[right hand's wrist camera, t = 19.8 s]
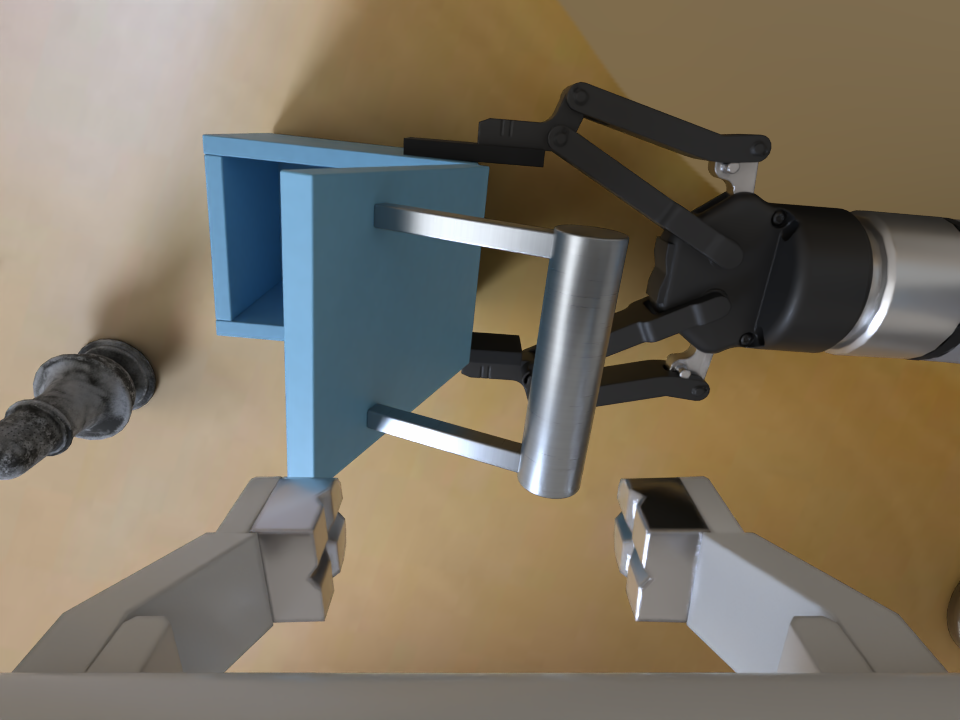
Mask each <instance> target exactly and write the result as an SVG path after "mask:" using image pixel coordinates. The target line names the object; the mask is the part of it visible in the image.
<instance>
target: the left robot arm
mask: <svg viewBox="0 0 960 720" xmlns="http://www.w3.org/2000/svg"><path fill="white" fill-rule="evenodd" d="M583 118H586V119H588V120H591V121H594V122H596V123H599V124H602V125H604V126H607V127H610V128H612V129H615V130H618V131H620V132H623V133H626V134H628V135H631V136H634V137H636V138H639V139H642V140H644V141H647V142H650V143H652V144H655V145H658V146H660V147H663V148H666V149H668V150H671V151H674V152H676V153H679V154H682V155H684V156H688V157H691V158H695V159H700V160H707V161H709V163H708V170H709V173H710V174H711V175H712V176H713V177H716V178H720V179H722V180H723V181H724V182H725V184H726V187H727V191H726V192H724V193H722V194H721V195H719V196H717V197H715V198H714V199H712V200H710V201H708V202H707V203H705V204H703V205H702V206H700V207H698V208H696V209H695V210H693V211H691V212H689V211H688V210H687V209H685V208H684V207H682V206H681V205H679V204H677V203H676V202H674V201H673V200H671V199H670V198H668V197H667V196H665V195H664V194H663V193H661V192H660V191H658V190H657V189H656V188H654V187H653V186H651V185H650V184H648V183H647V182H646V181H644V180H643V179H641V178H640V177H639V176H637V175H636V174H634V173H633V172H632V171H630V170H629V169H627V168H626V167H624V166H623V165H622V164H620V163H619V162H617V161H616V160H615V159H613V158H612V157H610V156H609V155H608V154H606V153H605V152H603V151H602V150H601V149H599V148H598V147H596V146H595V145H593V144H592V143H591V142H589V141H588V140H586V139H585V138H584V137H582V136H581V135H579V134H578V133H577V130H578V128H579V126H580V124H581V122H582V120H583ZM545 151H552V152H553V153H555V154H556V155H558V156H559V157H561V158H562V159H564V160H565V161H566V162H568V163H569V164H571V165H572V166H574V167H575V168H576V169H578V170H579V171H581V172H582V173H584V174H585V175H587V176H588V177H589V178H591V179H592V180H594V181H595V182H597V183H598V184H600V185H601V186H602V187H604V188H605V189H607V190H608V191H610V192H611V193H613V194H614V195H615V196H617V197H618V198H620V199H621V200H623V201H624V202H626V203H627V204H628V205H630V206H631V207H633V208H634V209H636V210H637V211H639V212H640V213H641V214H643V215H644V216H645V217H647V218H648V219H650V220H651V221H652V222H654V223H655V224H657V225H658V226H660V227H661V228H662V229H664V231H663V233H662V234H661V236H657V238H656V243H655V249H654V256H655V267H654V269H653V271H652V273H651V275H650V278H649V280H648V285H647V290H646V293H647V294H648V295H649V296H647V297H645V298H643V299H640V300H638V301H635V302H633V303H631V304H630V305H629V306H628V307H627V308H626V309H624V310H621V311H619V312H616V313H614V318H613V323H612V328H611V333H610V338H609V343H608V348H607V353H606V357H607V356H610V355H613V354H615V353H618V352H620V351H623V350H625V349H628V348H630V347H633V346H636V345H638V344H641V343H644V342H657V341H660V340H662V339H665V338H667V337H670V336H672V335H675V334H677V333H679V334H680V335H682V336H683V337H684V338H685V339H686V340H687V341H688V342H689V343H690V344H691V345H690V347H689V348H688V349H687V350H686V351H685V352H682V353H675V354H670V355H668V357H667V360H645V361H639V362H632V363H626V364H620V365H613V366H607V367H604V368H603V373H602V378H601V383H600V388H599V393H598V398H597V403H596V407H597V406H604V405H610V404H617V403H623V402H630V401H636V400H643V399H649V398H656V397H662V396H670V397H676V398H682V399H688V400H694V401H700V400H703V399H704V398H706V397H707V396H708V394H709V391H710V388H709V385H708V384H707V383H706V382H705V380H704V379H705V376H706V373H707V370H708V367H709V365H710V362H711V359H712V356H713V354H714V353H719V352H721V351H724V350H726V349H729V348H733V347H746V348H754V349H767V350H781V351H795V352H809V353H819V352H823V351H824V352H826V353H830V354H834V355H847V356H865V357H883V358H902V359H908V360H927V361H938V362H949V363H960V220H955V219H950V218H942V217H933V216H921V215H909V214H898V213H886V212H874V211H857V210H856V211H852V212H849V211H847V210H844V209H839V208H827V207H814V206H802V205H790V204H776V203H768V202H766V201H764V200H763V199H761V198H760V197H759V196H757V195H756V194H754V188H755V181H756V175H757V168H758V162H760V161H762V160H764V159H765V158H766V157H767V156H768V155H769V153H770V151H771V142H770V140H769V138H767V137H766V136H764V135H752V134H718V133H715V132H713V131H710V130H708V129H705V128H702V127H700V126H697V125H694V124H692V123H689V122H687V121H684V120H682V119H679V118H676V117H674V116H671V115H668V114H666V113H663V112H661V111H658V110H655V109H653V108H650V107H648V106H645V105H642V104H640V103H637V102H635V101H632V100H629V99H627V98H624V97H621V96H619V95H616V94H614V93H611V92H608V91H606V90H603V89H601V88H598V87H595V86H593V85H590V84H588V83H584V82H579V83H576V84H573V85H571V86H568V87H567V88H566V89H564V90H563V92H562V94H561V98H560V100H559V102H558V105H557V107H556V109H555V111H554V113H553V115H552V116H551V117H550V118H549V119H548V120H546V121H544V122H528V121H517V120H505V119H493V118H489V119H486V120H484V121H481V122H479V129H478V143H474V142H462V141H451V140H439V139H427V138H415V137H408V138H404V150H403V155H410V156H419V157H429V158H438V159H450V160H462V161H474V162H486V163H498V164H510V165H523V166H535V167H543V164H544V156H545ZM536 346H537V345H535V346H532V347H530V348H527V349H525V350H523V351H522V348H521V343H520V338H519V335H506V334H492V333H478V332H472V340H471V349H470V359H469V363H468V364H467V365H466V366H465V367H464V368H463V369H462V372H461V373H462V374H464V375H466V376H469V377H474V378H489V379H503V380H514V381H518V382H519V383H521V384H522V385H523V386H524V389H525V392H526V395H527V399H528V400H529V393H530V386H531V380H532V373H533V366H534V360H535V353H536ZM947 624H948V630H949V632H950V635H951V637H952V639H953V641H954V642H955V643H956V645H957V646H958V647H959V648H960V582H959V583H958V585H957V587H956V588H955V590H954V592H953V594H952V597H951V599H950V602H949V606H948V611H947Z"/></svg>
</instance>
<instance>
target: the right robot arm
mask: <svg viewBox="0 0 960 720" xmlns="http://www.w3.org/2000/svg"><path fill="white" fill-rule="evenodd" d="M342 499H343V496H342V489H341V482H340V481H339V479H338V478H319V477H255V478H252V479H251V480H250V481H249V482H248V484H247V486H246V487H245V489H244V490H243V492H242V493H241V495H240V496H239V498H238V499H237V501H236V502H235V504H234V505H233V507H232V508H231V510H230V511H229V513H228V514H227V516H226V517H225V519H224V520H223V522H222V523H221V525H220V526H219V528H218V529H217V531H216V532H215V533H205V534H203V535H202V536H200V537H198V538H196V539H194V540H193V541H191V542H189V543H187V544H186V545H184V546H182V547H180V548H178V549H177V550H175V551H173V552H171V553H170V554H168V555H166V556H164V557H162V558H161V559H159V560H157V561H155V562H153V563H152V564H150V565H148V566H146V567H145V568H143V569H141V570H139V571H137V572H136V573H134V574H132V575H130V576H129V577H127V578H125V579H123V580H121V581H120V582H118V583H116V584H114V585H112V586H111V587H109V588H107V589H105V590H104V591H102V592H100V593H98V594H96V595H95V596H93V597H91V598H89V599H88V600H86V601H84V602H82V603H80V604H79V605H77V606H75V607H73V608H71V609H70V610H68V611H66V612H64V613H63V614H62V615H61V616H60V617H59V618H58V619H57V621H56V622H55V623H54V624H53V625H52V626H51V628H50V629H49V630H48V631H47V632H46V633H45V634H44V636H43V637H42V638H41V639H40V640H39V641H38V643H37V644H36V645H35V646H34V647H33V648H32V649H31V651H30V652H29V653H28V654H27V655H26V656H25V658H24V659H23V660H22V661H21V662H20V663H19V664H18V666H17V667H16V668H15V669H14V670H13V671H12V673H0V720H960V673H948V671H947V670H946V669H945V668H944V667H943V666H942V664H941V663H940V662H939V661H938V660H937V659H936V657H935V656H934V655H933V654H932V653H931V652H930V650H929V649H928V648H927V647H926V646H925V645H924V643H923V642H922V641H921V640H920V639H919V638H918V636H917V635H916V634H915V633H914V632H913V631H912V630H911V628H910V627H909V626H908V625H907V624H906V623H905V621H904V620H903V619H902V618H901V617H900V616H899V614H897V613H895V612H893V611H892V610H890V609H888V608H886V607H885V606H883V605H881V604H879V603H877V602H876V601H874V600H872V599H870V598H869V597H867V596H865V595H863V594H861V593H860V592H858V591H856V590H854V589H853V588H851V587H849V586H847V585H845V584H844V583H842V582H840V581H838V580H837V579H835V578H833V577H831V576H829V575H828V574H826V573H824V572H822V571H821V570H819V569H817V568H815V567H813V566H812V565H810V564H808V563H806V562H805V561H803V560H801V559H799V558H797V557H796V556H794V555H792V554H790V553H789V552H787V551H785V550H783V549H781V548H780V547H778V546H776V545H774V544H773V543H771V542H769V541H767V540H765V539H764V538H762V537H760V536H758V535H757V534H755V533H745V532H744V531H743V529H742V528H741V526H740V525H739V523H738V522H737V520H736V519H735V517H734V516H733V514H732V513H731V511H730V510H729V508H728V507H727V505H726V504H725V503H724V501H723V500H722V498H721V497H720V495H719V494H718V492H717V491H716V489H715V488H714V486H713V485H712V483H711V482H710V480H709V479H708V478H706V477H704V476H697V477H676V478H633V479H621V480H620V483H619V487H618V496H617V499H618V502H619V505H620V507H621V510H622V512H621V513H620V514H619V515H618V516H617V517H616V518H615V525H614V550H615V555H616V561H617V564H618V568H619V571H620V572H621V573H622V574H623V575H624V576H626V577H627V584H626V593H627V596H628V599H629V602H630V605H631V608H632V612H633V615H634V618H635V621H648V622H684V623H687V626H688V627H689V628H690V629H691V630H692V631H693V632H694V633H696V634H697V635H698V636H699V637H700V638H701V639H702V640H703V641H704V642H705V643H706V644H707V645H708V646H709V647H710V648H711V649H712V650H713V651H714V652H715V653H716V654H717V655H718V656H719V657H721V658H722V659H723V660H724V661H725V662H726V663H727V664H728V665H729V666H730V667H731V668H732V669H733V670H734V671H735V672H736V673H224V672H225V671H226V670H227V669H228V668H229V667H230V666H231V665H232V664H233V663H235V662H236V661H237V660H238V659H239V658H240V657H241V656H242V655H243V654H244V653H245V652H246V651H247V650H248V649H249V648H250V647H251V646H252V645H253V644H254V643H255V642H256V641H257V640H259V639H260V638H261V637H262V636H263V635H264V634H265V633H266V632H267V631H268V630H269V629H270V628H271V627H272V626H273V623H276V622H310V621H325V618H326V615H327V612H328V609H329V606H330V602H331V599H332V596H333V593H334V585H333V577H334V576H336V575H337V574H338V573H339V572H340V571H341V568H342V564H343V561H344V555H345V547H346V524H345V518H344V517H343V516H342V515H341V514H340V513H339V512H338V510H339V507H340V505H341V502H342Z"/></svg>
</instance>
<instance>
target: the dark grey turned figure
mask: <svg viewBox="0 0 960 720" xmlns="http://www.w3.org/2000/svg"><path fill="white" fill-rule="evenodd" d="M33 389H34V397H35V398H34V399H31V400H22V401H18V402H16V403H14V404H13V405H12V406H10V407H9V409H8V410H7V411H6V414H5V418H4V419H2V420H1V421H0V480H9V479H13V478H16V477H18V476H20V475H22V474H23V473H25V472H26V471H28V470H29V469H30V468H32V467H33V466H34V465H35V464H37V463H38V462H39V461H41V460H42V459H43V458H45V457H46V456H54V455H58V454H61V453H62V452H64V451H65V450H67V449H68V447H69V446H70V445H71V443H72V439H73V437H78V438H83V439H88V440H99V439H105V438H108V437H112V436H114V435H115V434H117V433H118V432H120V431H121V430H123V428H124V427H125V426H126V424H127V423H128V422H129V419H130V416H131V413H132V410H135V409H138V408H140V407H142V406H143V405H145V404H146V403H147V402H148V401H149V400H150V399H151V397H152V396H153V393H154V390H155V375H154V372H153V369H152V367H151V365H150V364H149V362H148V360H147V359H146V358H145V357H144V356H143V355H142V354H141V353H140V352H139V351H138V350H136V349H135V348H133V347H132V346H130V345H128V344H126V343H123V342H121V341H117V340H112V339H101V340H97V341H94V342H90V343H89V344H87V345H86V346H84V347H83V348H82V349H81V350H80V352H79V353H78V354H64V355H60V356H57V357H53V358H51V359H49V360H48V361H46V362H45V363H44V364H42V365H41V367H40V368H39V369H38V371H37V372H36V374H35V378H34V382H33Z"/></svg>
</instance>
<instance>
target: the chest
mask: <svg viewBox="0 0 960 720" xmlns="http://www.w3.org/2000/svg"><path fill="white" fill-rule="evenodd" d="M203 148H204V154H205V156H204V157H205V171H206V185H207V199H208V213H209V228H210V242H211V256H212V270H213V284H214V298H215V312H216V319H217V320H216V330H217V335H222V336H233V337H244V338H256V339H267V340H278V341H284V306H283V266H282V225H281V185H280V171H281V170H290V169H322V168H354V167H386V166H417V165H449V164H475V165H479V164H478V162H474V161H462V160H450V159H438V158H429V157H419V156H410V155H403V150H404V148H401V147H392V146H383V145H374V144H365V143H355V142H346V141H337V140H328V139H319V138H309V137H300V136H291V135H282V134H273V133H248V134H205V135H203Z"/></svg>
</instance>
